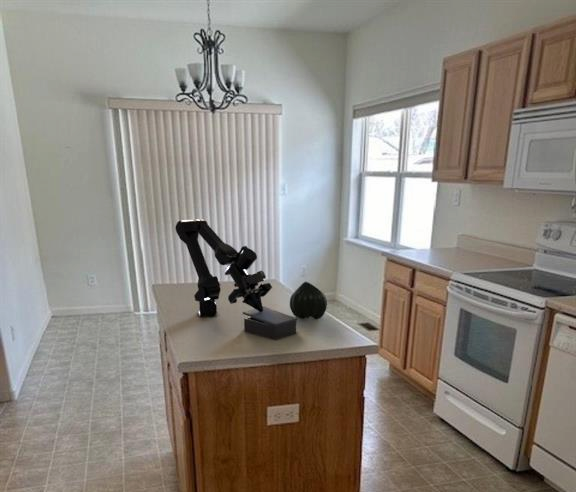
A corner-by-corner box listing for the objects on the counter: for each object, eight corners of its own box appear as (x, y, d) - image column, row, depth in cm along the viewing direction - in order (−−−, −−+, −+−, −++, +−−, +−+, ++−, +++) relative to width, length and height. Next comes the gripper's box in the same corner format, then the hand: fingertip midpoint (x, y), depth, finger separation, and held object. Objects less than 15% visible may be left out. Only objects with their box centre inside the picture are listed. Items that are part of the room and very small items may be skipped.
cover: (242, 313, 197) (242, 311, 196) (264, 308, 205) (264, 306, 205) (275, 326, 187) (275, 324, 187) (296, 320, 196) (296, 318, 195)
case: (244, 330, 199) (244, 318, 197) (265, 324, 207) (265, 312, 205) (275, 339, 189) (275, 326, 187) (296, 332, 197) (296, 320, 196)
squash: (323, 311, 206) (326, 277, 211) (285, 310, 208) (289, 277, 213) (326, 327, 219) (329, 295, 224) (290, 326, 222) (294, 294, 227)
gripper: (232, 267, 188) (255, 302, 186) (268, 261, 201) (290, 294, 199) (218, 285, 196) (239, 320, 193) (253, 279, 209) (274, 311, 207)
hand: (262, 311), depth 198 cm, fingers closed, pressing on cover
